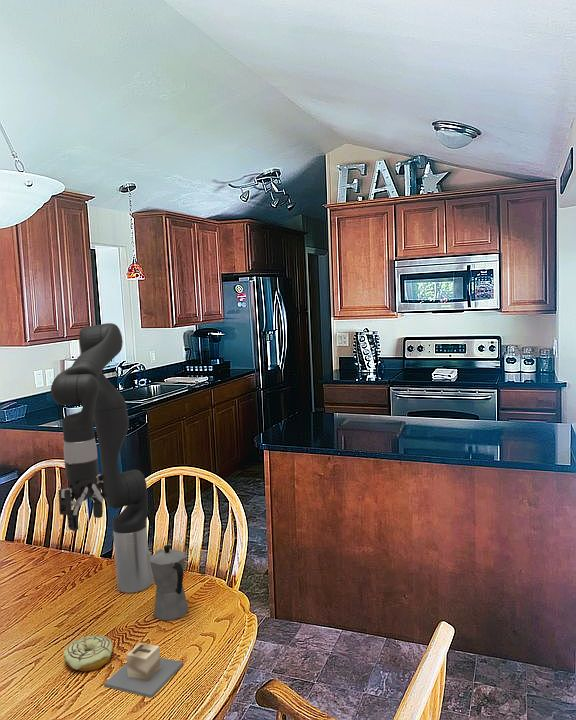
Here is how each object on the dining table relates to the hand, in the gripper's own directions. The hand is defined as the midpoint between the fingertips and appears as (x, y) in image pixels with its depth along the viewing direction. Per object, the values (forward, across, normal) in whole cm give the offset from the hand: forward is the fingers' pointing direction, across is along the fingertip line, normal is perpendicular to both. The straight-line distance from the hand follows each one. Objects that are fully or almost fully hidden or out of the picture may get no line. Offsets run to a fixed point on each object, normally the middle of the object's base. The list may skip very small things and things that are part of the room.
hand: (86, 523), depth 150 cm
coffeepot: (+28, -14, +13) cm, 34 cm away
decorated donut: (+29, +9, +6) cm, 31 cm away
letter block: (+28, +10, +22) cm, 37 cm away
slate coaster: (+28, +10, +22) cm, 37 cm away
